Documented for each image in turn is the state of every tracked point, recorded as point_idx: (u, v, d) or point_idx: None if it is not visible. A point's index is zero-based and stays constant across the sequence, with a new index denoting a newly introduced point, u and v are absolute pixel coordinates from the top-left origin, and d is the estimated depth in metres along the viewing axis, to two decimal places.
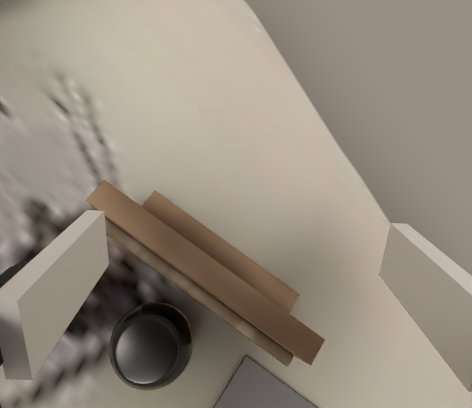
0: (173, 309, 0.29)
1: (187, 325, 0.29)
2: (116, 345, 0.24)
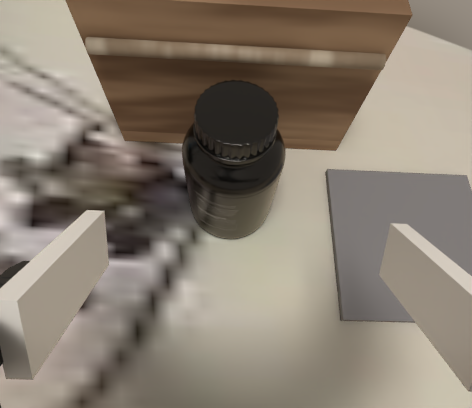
0: None
1: None
2: (200, 122, 0.18)
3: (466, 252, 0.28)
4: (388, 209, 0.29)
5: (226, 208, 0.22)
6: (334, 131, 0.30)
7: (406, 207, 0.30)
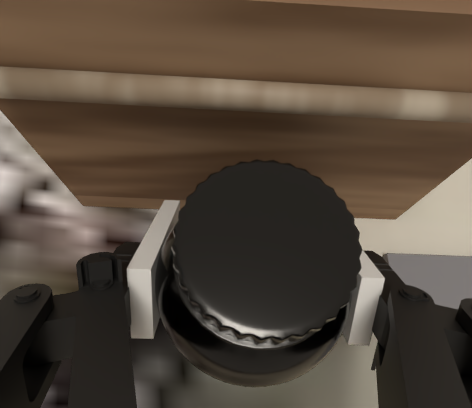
0: None
1: None
2: (184, 272, 0.08)
3: None
4: None
5: None
6: (401, 199, 0.19)
7: None
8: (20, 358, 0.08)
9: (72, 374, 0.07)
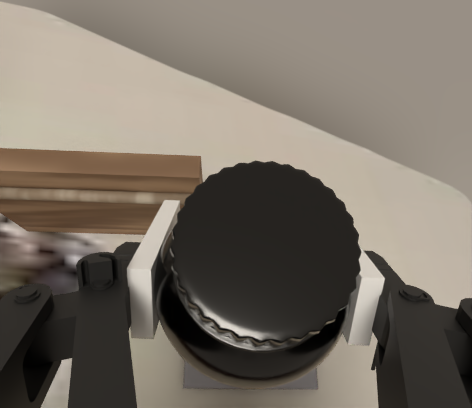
0: None
1: None
2: (183, 274, 0.08)
3: None
4: None
5: None
6: None
7: None
8: (20, 358, 0.08)
9: (72, 374, 0.07)
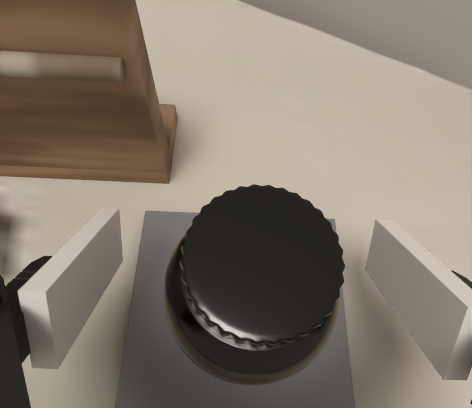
0: None
1: None
2: (191, 284, 0.09)
3: None
4: None
5: None
6: (147, 161, 0.22)
7: None
8: None
9: None
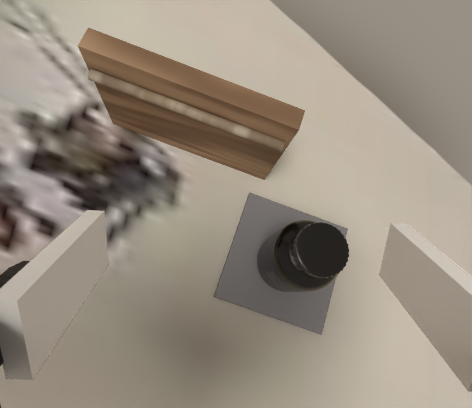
0: (315, 221, 0.33)
1: None
2: (298, 251, 0.28)
3: None
4: None
5: (288, 288, 0.33)
6: (261, 169, 0.40)
7: None
8: None
9: None
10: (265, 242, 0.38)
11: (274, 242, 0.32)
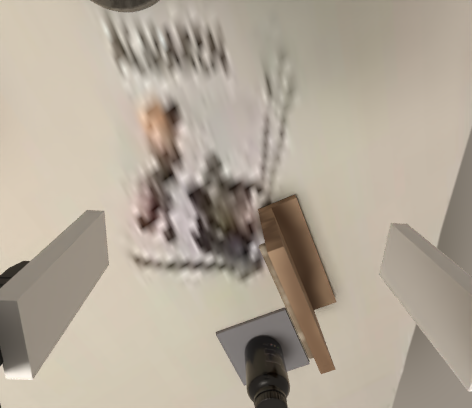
0: (287, 382, 0.52)
1: None
2: (260, 403, 0.49)
3: None
4: (274, 338, 0.60)
5: None
6: None
7: None
8: None
9: None
10: (262, 345, 0.57)
11: (260, 372, 0.52)
